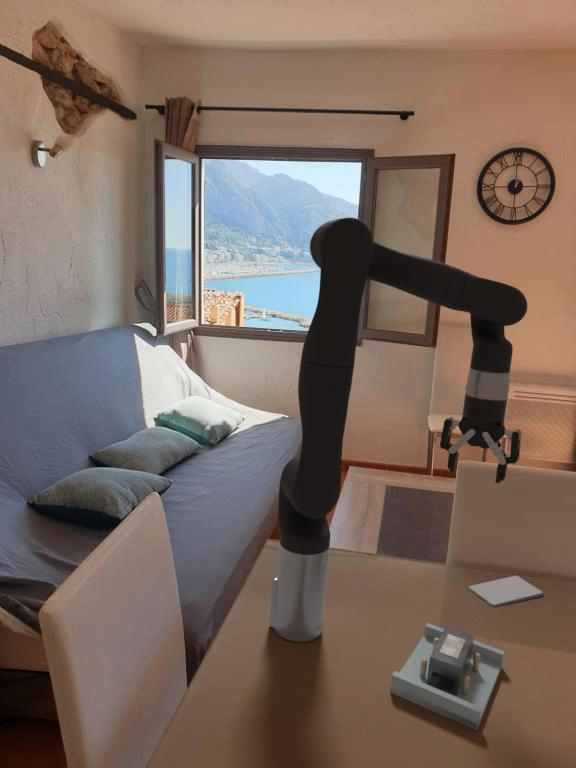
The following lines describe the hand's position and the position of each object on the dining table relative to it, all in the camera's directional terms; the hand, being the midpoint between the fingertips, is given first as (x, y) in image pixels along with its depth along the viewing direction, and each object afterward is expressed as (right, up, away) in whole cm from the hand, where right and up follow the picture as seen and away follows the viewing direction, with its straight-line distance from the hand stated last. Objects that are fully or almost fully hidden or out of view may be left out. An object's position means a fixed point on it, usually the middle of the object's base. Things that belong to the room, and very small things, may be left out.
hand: (475, 476), depth 112 cm
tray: (-9, -32, -12) cm, 36 cm away
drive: (-8, -31, -13) cm, 35 cm away
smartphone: (+12, -29, +18) cm, 36 cm away
